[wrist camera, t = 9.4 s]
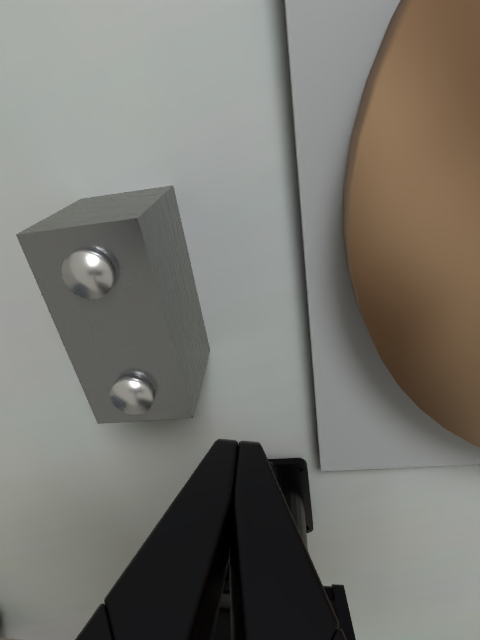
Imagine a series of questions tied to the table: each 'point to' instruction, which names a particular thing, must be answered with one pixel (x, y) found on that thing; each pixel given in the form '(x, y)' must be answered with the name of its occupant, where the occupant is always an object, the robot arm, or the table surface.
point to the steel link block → (124, 302)
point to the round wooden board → (421, 208)
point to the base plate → (330, 257)
